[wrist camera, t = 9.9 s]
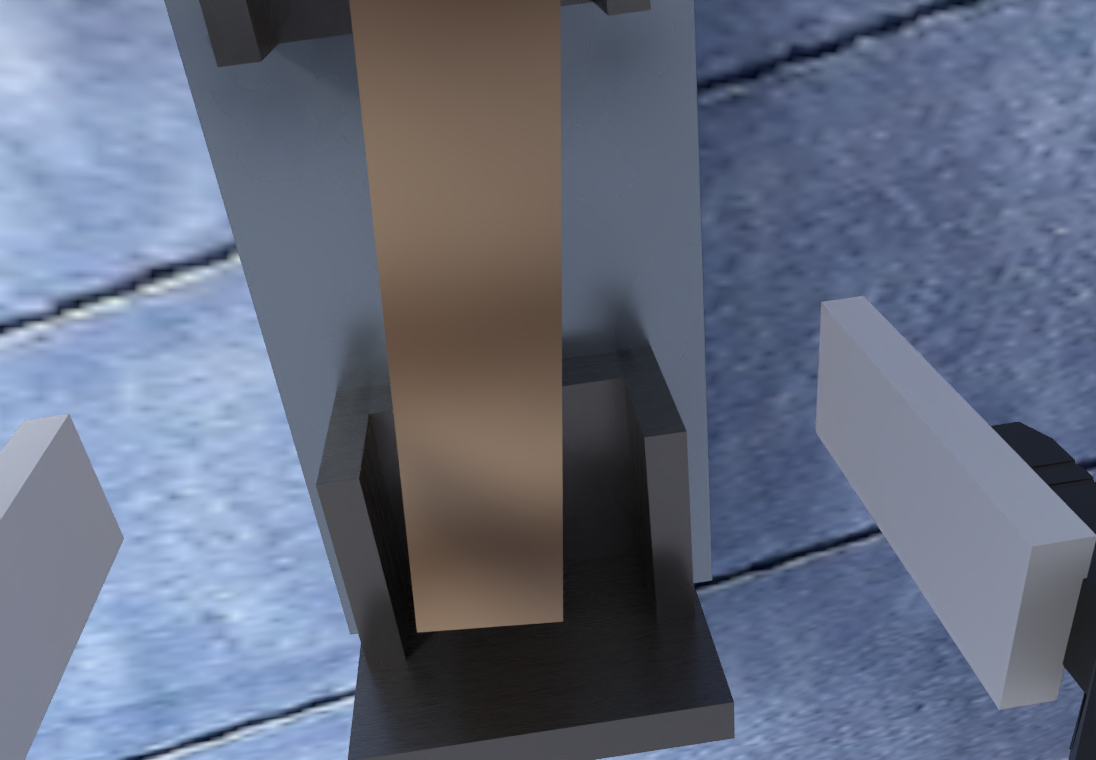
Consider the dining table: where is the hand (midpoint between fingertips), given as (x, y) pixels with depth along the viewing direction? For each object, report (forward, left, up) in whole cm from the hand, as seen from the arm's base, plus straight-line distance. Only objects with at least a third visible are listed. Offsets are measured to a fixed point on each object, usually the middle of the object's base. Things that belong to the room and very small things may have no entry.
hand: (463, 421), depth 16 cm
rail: (+1, 0, -11) cm, 11 cm away
